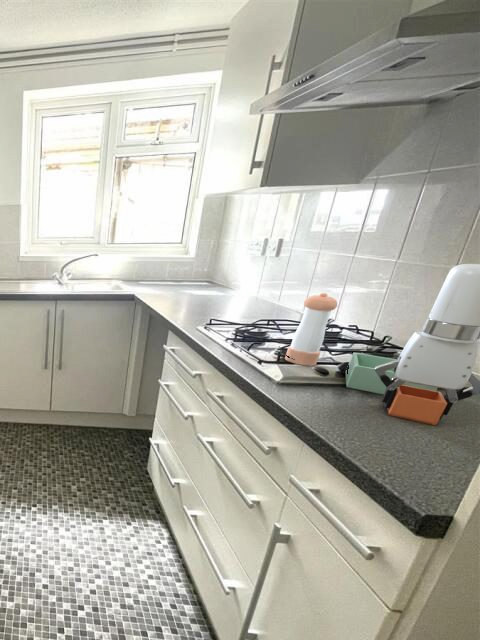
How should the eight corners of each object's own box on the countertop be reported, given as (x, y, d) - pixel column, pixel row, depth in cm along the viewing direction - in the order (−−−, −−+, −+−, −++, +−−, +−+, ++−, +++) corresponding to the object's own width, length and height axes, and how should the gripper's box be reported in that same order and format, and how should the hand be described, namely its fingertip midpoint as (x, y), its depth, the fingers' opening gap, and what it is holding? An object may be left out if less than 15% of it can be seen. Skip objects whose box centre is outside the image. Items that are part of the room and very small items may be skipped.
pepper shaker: (322, 363, 116) (348, 294, 108) (305, 367, 113) (331, 297, 105) (294, 355, 122) (317, 289, 114) (278, 358, 119) (300, 291, 112)
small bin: (430, 413, 89) (440, 392, 87) (435, 425, 84) (447, 403, 82) (385, 403, 93) (395, 383, 91) (388, 415, 88) (398, 393, 86)
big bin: (421, 386, 102) (432, 365, 99) (429, 403, 93) (441, 381, 91) (345, 372, 110) (353, 352, 108) (346, 387, 101) (355, 365, 99)
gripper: (513, 334, 79) (466, 417, 86) (388, 319, 88) (356, 394, 96) (526, 344, 73) (475, 431, 80) (392, 326, 83) (357, 405, 90)
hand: (411, 410), depth 88 cm, fingers closed on small bin, 7 cm apart
